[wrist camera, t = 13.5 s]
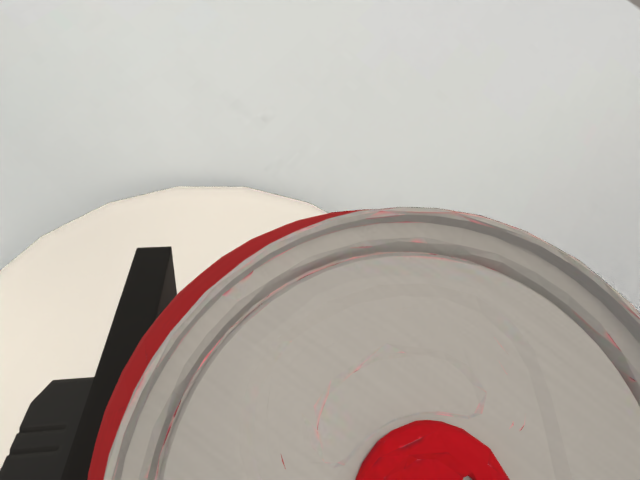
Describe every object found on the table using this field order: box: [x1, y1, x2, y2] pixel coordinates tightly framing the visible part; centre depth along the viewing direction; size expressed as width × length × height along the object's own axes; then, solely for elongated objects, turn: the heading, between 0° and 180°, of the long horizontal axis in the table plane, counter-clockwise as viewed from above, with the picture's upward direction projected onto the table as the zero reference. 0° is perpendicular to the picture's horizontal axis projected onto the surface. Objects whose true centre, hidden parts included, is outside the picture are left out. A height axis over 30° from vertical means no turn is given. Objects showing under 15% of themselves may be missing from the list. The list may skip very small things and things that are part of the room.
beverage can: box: [88, 207, 640, 480], centre depth 10 cm, size 6×6×12 cm
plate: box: [0, 187, 328, 470], centre depth 23 cm, size 25×25×1 cm
